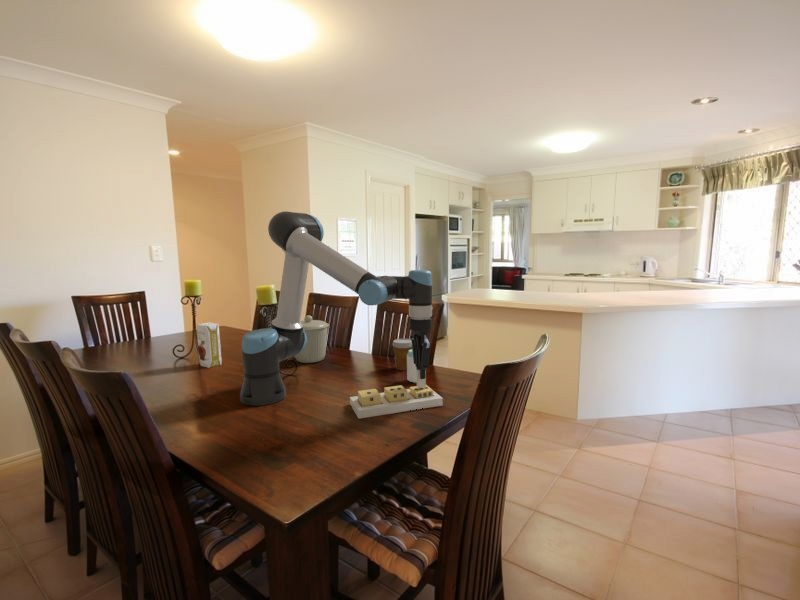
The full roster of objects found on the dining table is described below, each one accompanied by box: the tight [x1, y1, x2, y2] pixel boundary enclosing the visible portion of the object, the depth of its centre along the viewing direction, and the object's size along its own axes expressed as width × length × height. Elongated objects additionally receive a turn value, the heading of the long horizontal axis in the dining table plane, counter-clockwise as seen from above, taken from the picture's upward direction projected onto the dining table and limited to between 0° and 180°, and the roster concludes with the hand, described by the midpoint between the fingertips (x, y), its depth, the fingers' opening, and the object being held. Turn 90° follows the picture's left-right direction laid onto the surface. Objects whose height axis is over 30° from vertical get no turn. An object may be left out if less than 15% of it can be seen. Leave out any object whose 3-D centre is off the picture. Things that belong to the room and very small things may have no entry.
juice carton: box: [196, 321, 222, 369], centre depth 179 cm, size 8×9×19 cm
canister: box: [294, 314, 330, 364], centre depth 185 cm, size 18×18×21 cm
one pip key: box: [357, 388, 381, 407], centre depth 128 cm, size 6×6×4 cm
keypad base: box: [349, 388, 444, 420], centre depth 132 cm, size 28×12×2 cm, turn 109°
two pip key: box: [383, 385, 408, 403], centre depth 131 cm, size 6×6×4 cm
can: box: [406, 349, 417, 384], centre depth 155 cm, size 7×7×12 cm
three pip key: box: [409, 384, 434, 399], centre depth 134 cm, size 6×6×4 cm
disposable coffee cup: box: [391, 338, 412, 371], centre depth 171 cm, size 10×10×12 cm
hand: (421, 387), depth 134 cm, fingers closed
